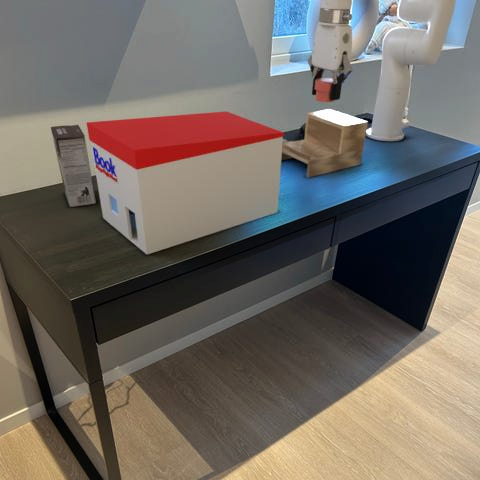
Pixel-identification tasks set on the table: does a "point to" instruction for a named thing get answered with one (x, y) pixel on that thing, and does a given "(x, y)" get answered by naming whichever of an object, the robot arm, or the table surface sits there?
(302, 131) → the fossilized seashell
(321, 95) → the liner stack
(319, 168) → the wooden step block
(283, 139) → the soldier figure
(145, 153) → the bookstore
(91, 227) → the table surface
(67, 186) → the coffee box
